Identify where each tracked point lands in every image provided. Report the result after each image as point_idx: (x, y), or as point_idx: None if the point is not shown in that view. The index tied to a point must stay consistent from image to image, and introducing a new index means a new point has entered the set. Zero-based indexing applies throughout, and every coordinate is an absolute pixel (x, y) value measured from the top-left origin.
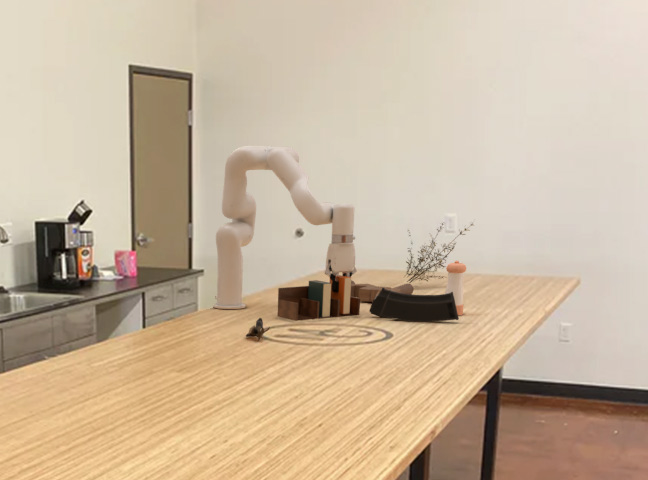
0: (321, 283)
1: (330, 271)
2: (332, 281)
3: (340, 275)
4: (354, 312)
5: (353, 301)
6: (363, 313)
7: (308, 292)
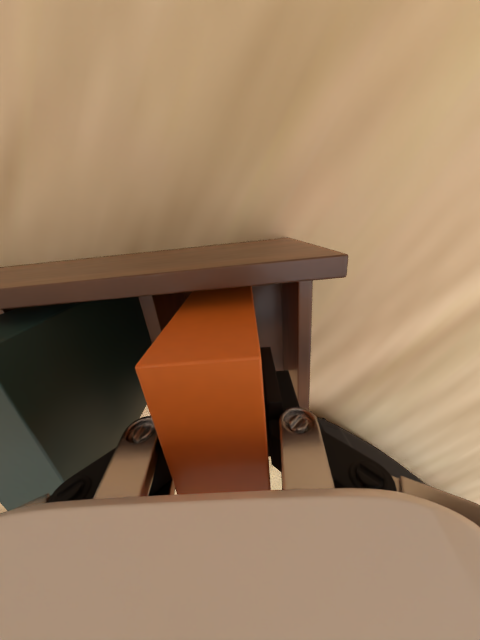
0: (7, 505)
1: (64, 508)
2: (147, 425)
3: (260, 440)
4: (284, 358)
5: (293, 376)
6: (371, 292)
7: (6, 314)
